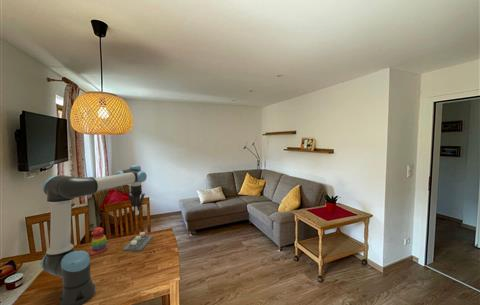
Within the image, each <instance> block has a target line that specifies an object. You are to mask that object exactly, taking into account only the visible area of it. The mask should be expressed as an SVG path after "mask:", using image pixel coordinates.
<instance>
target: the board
mask: <svg viewBox="0 0 480 305" xmlns="http://www.w3.org/2000/svg"><path fill="white" fill-rule="evenodd" d="M153 238H154V237H153V235H151V236H149V234H145V237H143V238H141V241H139V242H137V245H136V246H131V241H130V242H128V244H126V245H125V246H124V247H123V248H122V252H142V251H143V250H144V248H145V247H146V246H147V245H148V244H149V243H150V242H151V240H153ZM132 240H136V236H135V237H134V238H133V239H132Z"/></svg>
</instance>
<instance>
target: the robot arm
mask: <svg viewBox="0 0 480 305" xmlns="http://www.w3.org/2000/svg"><path fill="white" fill-rule="evenodd" d="M146 180H147V173H146V171H142V169H141V166H140V165H138V164H133V165H130V166H129V168H128V169H122V170H118V171H116V172H115V173H114V174H113V175H106V176H99V177H94V176H89V177H80V176H79V177H78V176H69V175H65V174H64V175H63V174H62V175H61V174H59V175H58V174H57V175H53V176H51V177H48V178H47V179H46V180H45V181H44V182H43V184H42V191H43V193H44V194H45V195H46V202H47V203H49V204H50V228H49V229H50V234H49V240H50V241H49V242H50V243H49V248H48V249H46V252H45V255H44V256H43V257H42V260H41V262H40V264H41V268H42V270H43V271H45V272H46V274H50V275H53V276H56V277H59V278H62V290H61V291H62V292H61V294H60V297H59V305H83V304H85V303H86V302H88V301H89V300H90V299H92V298H93V297H94V295H95V294H96V285H95V283H94V282H93V279H92V274H91V273H92V272H91V258H90V253H89V252H87V251H85V250H81V249H80V250H74V249H75V247H74V246H75V245H74V244H72V243H71V240H72V239H71V235H72V234H71V233H72V224H71V223H72V202H73V201H74V200H75V199H76V198H83V197H87V196H89V195H90V196H91V195H93V194H96V193H97V192H99V191H104V190H107V189H112V188H116V187H121V186H125V185H129V184H130V193H128V194H127V196H128V198H129V202H130V205H131V206H132V207H133V208H134V211H135V212H134V213H135V214H134V215H135V216H139V215H140V210H141V206H143V202H144V199H145V195H146V193H143V191H142V186H143V185H142V183H144V182H145V181H146ZM91 297H92V298H91Z"/></svg>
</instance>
